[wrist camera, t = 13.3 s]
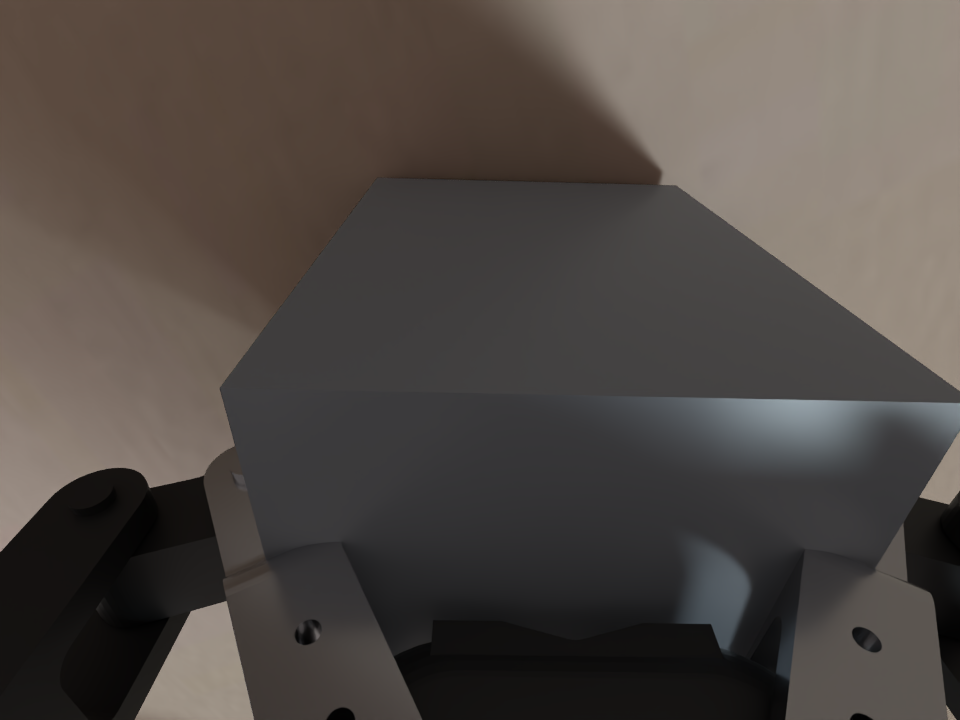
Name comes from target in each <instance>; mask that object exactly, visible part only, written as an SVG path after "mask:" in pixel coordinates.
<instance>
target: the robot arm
mask: <svg viewBox="0 0 960 720" xmlns="http://www.w3.org/2000/svg"><path fill="white" fill-rule="evenodd" d="M224 601H227V604H228V608H229V613H230V617H231V621H232V626H233V630H234V634H235V639H236V643H237V647H238V652H239V656H240V660H241V665H242V669H243V673H244V678H245V682H246V686H247V691H248V695H249V699H250V703H251V708H252V712H253V716H254V720H948V717H947V708H946V705H947V706H948V708H949V709H950V711H951V712H952V714H953V715H954V716H955V718H956V719H957V720H960V491H959V493H958V494H957V495H956V497H955V498H954V499H953V501H952V502H951V503H950V504H949V505H948V504H944V503H940V502H936V501H932V500H928V499H924V498H920V497H919V498H918V499H917V501H916V503H915V504H914V506H913V508H912V509H911V511H910V512H909V514H908V516H907V517H906V519H905V521H904V522H903V524H902V526H901V527H900V529H899V530H898V532H897V534H896V535H895V537H894V539H893V540H892V542H891V543H890V545H889V547H888V548H887V550H886V552H885V553H884V555H883V557H882V558H881V560H880V561H879V563H878V565H877V566H876V568H872V567H870V566H867V565H865V564H862V563H860V562H857V561H855V560H852V559H850V558H847V557H845V556H842V555H838V554H835V553H831V552H825V551H820V550H811V549H804V551H803V553H802V555H801V556H800V558H799V560H798V562H797V564H796V566H795V567H794V569H793V571H792V573H791V575H790V577H789V578H788V580H787V582H786V584H785V586H784V587H783V589H782V591H781V593H780V595H779V597H778V598H777V600H776V602H775V604H774V606H773V608H772V609H771V611H770V613H769V615H768V617H767V619H766V620H765V622H764V624H763V626H762V628H761V629H760V631H759V633H758V635H757V637H756V639H755V640H754V642H753V644H752V646H751V648H750V650H749V651H748V653H747V655H746V657H744V656H741V655H739V654H736V653H733V652H731V651H728V650H725V649H722V648H720V647H719V644H718V642H717V639H716V636H715V633H714V631H713V628H712V625H711V624H676V623H641V624H638V625H634V626H630V627H626V628H623V629H619V630H615V631H611V632H607V633H604V634H600V635H596V636H592V637H589V638H585V639H580V640H571V639H566V638H562V637H559V636H555V635H551V634H548V633H544V632H540V631H537V630H533V629H529V628H525V627H522V626H518V625H514V624H511V623H507V622H503V621H458V620H433V628H432V641H431V642H429V643H425V644H422V645H418V646H415V647H413V648H411V649H408V650H406V651H403V652H401V653H399V654H397V655H395V656H394V657H393V655H392V653H391V651H390V648H389V646H388V644H387V642H386V640H385V638H384V635H383V633H382V631H381V629H380V627H379V624H378V622H377V620H376V618H375V616H374V614H373V611H372V609H371V607H370V605H369V603H368V601H367V598H366V596H365V594H364V592H363V590H362V588H361V585H360V583H359V581H358V579H357V577H356V575H355V572H354V570H353V568H352V566H351V564H350V562H349V559H348V557H347V555H346V553H345V551H344V549H343V546H342V544H341V542H325V543H318V544H311V545H306V546H301V547H298V548H294V549H291V550H288V551H286V552H284V553H281V554H279V555H276V556H274V557H272V558H269V559H267V560H266V559H265V555H264V551H263V547H262V544H261V540H260V536H259V533H258V529H257V525H256V521H255V518H254V514H253V510H252V506H251V503H250V499H249V495H248V492H247V488H246V484H245V480H244V477H243V473H242V469H241V466H240V462H239V458H238V454H237V451H236V447H235V446H234V447H232V448H230V449H228V450H226V451H225V452H223V453H222V454H220V455H219V456H218V457H217V458H216V459H215V460H214V461H213V462H212V463H211V464H210V465H209V467H208V468H207V470H206V473H205V475H204V476H202V477H198V478H194V479H190V480H186V481H181V482H177V483H172V484H167V485H163V486H158V487H154V488H149V486H148V483H147V481H146V479H145V478H144V476H143V475H142V474H141V473H139V472H137V471H135V470H132V469H127V468H111V469H105V470H100V471H96V472H93V473H90V474H87V475H85V476H83V477H80V478H78V479H76V480H74V481H72V482H71V483H69V484H67V485H66V486H64V487H63V488H61V489H60V490H59V491H58V492H56V493H55V494H54V495H53V496H52V497H51V498H50V499H49V500H48V501H47V502H46V503H45V504H44V505H43V507H42V508H41V509H40V510H39V511H38V512H37V513H36V514H35V515H34V516H33V517H32V518H31V520H30V521H29V522H28V523H27V524H26V525H25V526H24V527H23V528H22V529H21V530H20V532H19V533H18V534H17V535H16V536H15V537H14V538H13V539H12V540H11V541H10V542H9V543H8V545H7V546H6V547H5V548H4V549H3V550H2V551H1V552H0V720H135V718H136V716H137V714H138V712H139V710H140V708H141V706H142V704H143V702H144V700H145V698H146V697H147V695H148V693H149V691H150V689H151V687H152V685H153V683H154V681H155V679H156V677H157V675H158V673H159V672H160V670H161V668H162V666H163V664H164V662H165V660H166V658H167V656H168V654H169V652H170V650H171V648H172V646H173V645H174V643H175V641H176V639H177V637H178V635H179V633H180V631H181V629H182V627H183V625H184V623H185V621H186V620H187V618H188V616H189V614H190V612H191V611H193V610H196V609H200V608H203V607H207V606H210V605H214V604H217V603H221V602H224Z"/></svg>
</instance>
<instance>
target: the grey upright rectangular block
mask: <svg viewBox="0 0 960 720" xmlns="http://www.w3.org/2000/svg"><path fill="white" fill-rule="evenodd" d="M220 391H221V395H222V399H223V402H224V406H225V410H226V413H227V417H228V421H229V425H230V428H231V432H232V436H233V439H234V443H235V447H236V451H237V454H238V458H239V462H240V466H241V469H242V473H243V477H244V480H245V484H246V488H247V492H248V495H249V499H250V503H251V506H252V510H253V514H254V518H255V521H256V525H257V529H258V533H259V536H260V540H261V544H262V547H263V551H264V555H265V559H266V560H267V559H269V558H272V557H274V556H276V555H279V554H281V553H284V552H286V551H288V550H291V549H294V548H298V547H301V546H306V545H311V544H318V543H325V542H341V544H342V546H343V549H344V551H345V553H346V555H347V557H348V559H349V562H350V564H351V566H352V568H353V570H354V572H355V575H356V577H357V579H358V581H359V583H360V585H361V588H362V590H363V592H364V594H365V596H366V598H367V601H368V603H369V605H370V607H371V609H372V611H373V614H374V616H375V618H376V620H377V622H378V624H379V627H380V629H381V631H382V633H383V635H384V638H385V640H386V642H387V644H388V646H389V648H390V651H391V653H392V655H393V657H394V656H395V655H397V654H399V653H401V652H403V651H406V650H408V649H411V648H413V647H415V646H418V645H422V644H425V643H429V642H431V641H432V628H433V620H458V621H503V622H507V623H511V624H514V625H518V626H522V627H525V628H529V629H533V630H537V631H540V632H544V633H548V634H551V635H555V636H559V637H562V638H566V639H571V640H580V639H585V638H589V637H592V636H596V635H600V634H604V633H607V632H611V631H615V630H619V629H623V628H626V627H630V626H634V625H638V624H641V623H676V624H711V625H712V628H713V631H714V633H715V636H716V639H717V642H718V644H719V647H720V648H722V649H725V650H728V651H731V652H733V653H736V654H739V655H741V656H744V657H746V655H747V653H748V651H749V650H750V648H751V646H752V644H753V642H754V640H755V639H756V637H757V635H758V633H759V631H760V629H761V628H762V626H763V624H764V622H765V620H766V619H767V617H768V615H769V613H770V611H771V609H772V608H773V606H774V604H775V602H776V600H777V598H778V597H779V595H780V593H781V591H782V589H783V587H784V586H785V584H786V582H787V580H788V578H789V577H790V575H791V573H792V571H793V569H794V567H795V566H796V564H797V562H798V560H799V558H800V556H801V555H802V553H803V551H804V549H811V550H820V551H825V552H831V553H835V554H838V555H842V556H845V557H847V558H850V559H852V560H855V561H857V562H860V563H862V564H865V565H867V566H870V567H872V568H876V566H877V565H878V563H879V561H880V560H881V558H882V557H883V555H884V553H885V552H886V550H887V548H888V547H889V545H890V543H891V542H892V540H893V539H894V537H895V535H896V534H897V532H898V530H899V529H900V527H901V526H902V524H903V522H904V521H905V519H906V517H907V516H908V514H909V512H910V511H911V509H912V508H913V506H914V504H915V503H916V501H917V499H918V498H919V496H920V495H921V493H922V491H923V490H924V488H925V486H926V485H927V483H928V481H929V480H930V478H931V477H932V475H933V473H934V472H935V470H936V468H937V467H938V465H939V464H940V462H941V460H942V459H943V457H944V455H945V454H946V452H947V450H948V449H949V447H950V446H951V444H952V442H953V441H954V439H955V437H956V436H957V434H958V433H959V431H960V391H959V390H957V389H956V388H954V387H953V386H952V385H950V384H949V383H948V382H946V381H945V380H943V379H942V378H941V377H939V376H938V375H937V374H935V373H934V372H932V371H931V370H930V369H928V368H927V367H926V366H924V365H923V364H921V363H920V362H919V361H917V360H916V359H914V358H913V357H912V356H910V355H909V354H908V353H906V352H905V351H903V350H902V349H901V348H899V347H898V346H897V345H895V344H894V343H892V342H891V341H890V340H888V339H887V338H886V337H884V336H883V335H881V334H880V333H879V332H877V331H876V330H875V329H873V328H872V327H870V326H869V325H868V324H866V323H865V322H864V321H862V320H861V319H859V318H858V317H857V316H855V315H854V314H853V313H851V312H850V311H848V310H847V309H846V308H844V307H843V306H841V305H840V304H839V303H837V302H836V301H835V300H833V299H832V298H830V297H829V296H828V295H826V294H825V293H824V292H822V291H821V290H819V289H818V288H817V287H815V286H814V285H813V284H811V283H810V282H808V281H807V280H806V279H804V278H803V277H802V276H800V275H799V274H797V273H796V272H795V271H793V270H792V269H791V268H789V267H788V266H786V265H785V264H784V263H782V262H781V261H779V260H778V259H777V258H775V257H774V256H773V255H771V254H770V253H768V252H767V251H766V250H764V249H763V248H762V247H760V246H759V245H757V244H756V243H755V242H753V241H752V240H751V239H749V238H748V237H746V236H745V235H744V234H742V233H741V232H740V231H738V230H737V229H735V228H734V227H733V226H731V225H730V224H729V223H727V222H726V221H724V220H723V219H722V218H720V217H719V216H717V215H716V214H715V213H713V212H712V211H711V210H709V209H708V208H706V207H705V206H704V205H702V204H701V203H700V202H698V201H697V200H695V199H694V198H693V197H691V196H690V195H689V194H687V193H686V192H684V191H683V190H682V189H680V188H679V187H678V186H675V185H637V184H599V183H561V182H523V181H484V180H446V179H408V178H377V179H376V180H375V181H374V183H373V184H372V185H371V187H370V188H369V189H368V191H367V192H366V193H365V195H364V196H363V197H362V199H361V200H360V201H359V203H358V204H357V205H356V207H355V208H354V209H353V211H352V212H351V213H350V215H349V216H348V217H347V219H346V220H345V221H344V223H343V224H342V226H341V227H340V228H339V230H338V231H337V232H336V234H335V235H334V236H333V238H332V239H331V240H330V242H329V243H328V244H327V246H326V247H325V248H324V250H323V251H322V252H321V254H320V255H319V256H318V258H317V259H316V260H315V262H314V263H313V264H312V266H311V267H310V268H309V270H308V271H307V272H306V274H305V275H304V276H303V278H302V279H301V280H300V282H299V283H298V284H297V286H296V287H295V288H294V290H293V291H292V292H291V294H290V295H289V296H288V298H287V299H286V300H285V302H284V303H283V304H282V306H281V307H280V308H279V310H278V311H277V312H276V314H275V315H274V316H273V318H272V319H271V320H270V322H269V323H268V324H267V326H266V327H265V328H264V330H263V331H262V332H261V334H260V335H259V336H258V338H257V339H256V340H255V342H254V343H253V344H252V346H251V347H250V348H249V350H248V351H247V352H246V354H245V355H244V356H243V358H242V359H241V360H240V362H239V363H238V364H237V366H236V367H235V368H234V370H233V371H232V372H231V374H230V375H229V376H228V378H227V379H226V380H225V382H224V383H223V384H222V386H221V387H220Z"/></svg>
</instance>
